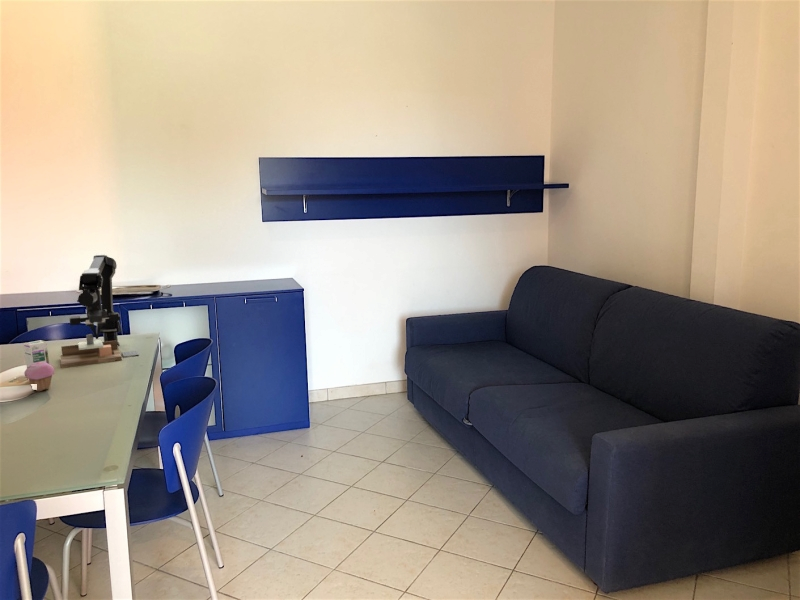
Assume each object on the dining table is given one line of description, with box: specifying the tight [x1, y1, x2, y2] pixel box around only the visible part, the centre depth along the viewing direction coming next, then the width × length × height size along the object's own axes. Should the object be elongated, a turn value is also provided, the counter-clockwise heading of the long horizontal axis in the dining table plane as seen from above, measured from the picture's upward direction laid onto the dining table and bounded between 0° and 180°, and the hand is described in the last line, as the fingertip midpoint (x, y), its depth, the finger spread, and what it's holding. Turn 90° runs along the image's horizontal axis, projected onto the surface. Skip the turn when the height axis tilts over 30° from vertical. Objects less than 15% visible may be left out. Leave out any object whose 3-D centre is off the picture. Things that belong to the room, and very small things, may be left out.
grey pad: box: [121, 350, 140, 358], centre depth 257 cm, size 8×6×1 cm
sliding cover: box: [77, 333, 103, 350], centre depth 251 cm, size 12×9×5 cm
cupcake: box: [24, 362, 55, 392], centre depth 209 cm, size 9×9×10 cm
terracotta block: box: [99, 345, 112, 356], centre depth 252 cm, size 4×4×5 cm
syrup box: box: [23, 339, 50, 369], centre depth 221 cm, size 6×6×14 cm
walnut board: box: [60, 340, 123, 369], centre depth 250 cm, size 16×22×5 cm
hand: (97, 338), depth 252 cm, fingers closed
